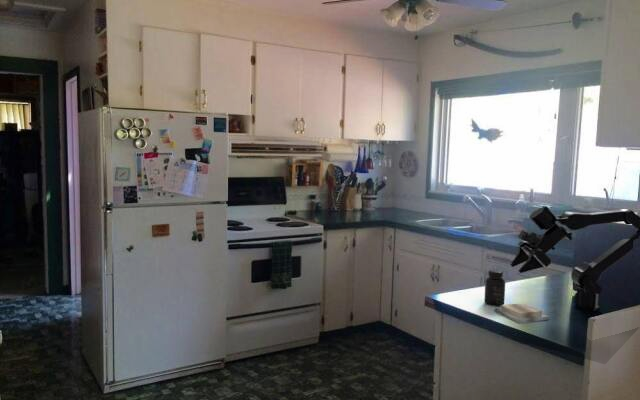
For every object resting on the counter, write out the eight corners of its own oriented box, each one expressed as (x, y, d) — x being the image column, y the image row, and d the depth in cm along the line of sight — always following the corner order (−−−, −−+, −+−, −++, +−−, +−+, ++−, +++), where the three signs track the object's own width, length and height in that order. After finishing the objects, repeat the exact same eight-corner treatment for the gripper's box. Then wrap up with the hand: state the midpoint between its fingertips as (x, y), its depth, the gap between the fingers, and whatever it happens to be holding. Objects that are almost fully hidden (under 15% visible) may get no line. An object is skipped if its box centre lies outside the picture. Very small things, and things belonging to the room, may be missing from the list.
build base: (522, 308, 180) (522, 301, 179) (548, 319, 169) (549, 311, 168) (494, 311, 176) (494, 304, 175) (519, 322, 164) (519, 315, 164)
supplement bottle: (506, 303, 186) (508, 270, 184) (501, 307, 180) (503, 274, 179) (486, 299, 189) (488, 267, 188) (481, 304, 184) (483, 271, 182)
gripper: (525, 219, 190) (492, 247, 192) (543, 226, 171) (507, 258, 173) (545, 240, 190) (513, 269, 192) (566, 251, 172) (530, 282, 174)
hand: (515, 268), depth 183 cm, fingers open, 9 cm apart
